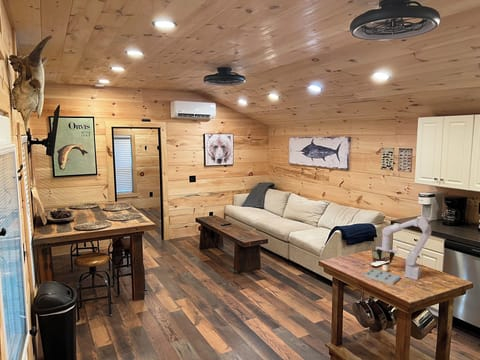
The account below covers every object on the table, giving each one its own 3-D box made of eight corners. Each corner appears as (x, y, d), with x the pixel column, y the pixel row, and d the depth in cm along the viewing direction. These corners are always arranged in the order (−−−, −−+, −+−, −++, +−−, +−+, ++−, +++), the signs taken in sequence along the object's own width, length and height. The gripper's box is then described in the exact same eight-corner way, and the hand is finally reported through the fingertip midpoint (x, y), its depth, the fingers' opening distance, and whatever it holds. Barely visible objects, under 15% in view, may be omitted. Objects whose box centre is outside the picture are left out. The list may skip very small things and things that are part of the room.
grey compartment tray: (400, 278, 249) (400, 276, 249) (392, 284, 239) (392, 282, 239) (372, 271, 263) (372, 268, 262) (364, 276, 253) (364, 274, 252)
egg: (388, 271, 262) (389, 264, 262) (386, 272, 259) (386, 266, 259) (383, 269, 265) (383, 263, 264) (381, 271, 262) (381, 265, 261)
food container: (384, 259, 287) (385, 247, 286) (387, 261, 281) (387, 249, 280) (369, 258, 288) (369, 247, 287) (371, 261, 282) (371, 249, 281)
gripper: (398, 243, 257) (397, 261, 259) (378, 239, 267) (377, 257, 269) (394, 246, 252) (393, 264, 254) (374, 242, 262) (373, 259, 264)
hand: (385, 260), depth 261 cm, fingers open, 7 cm apart
